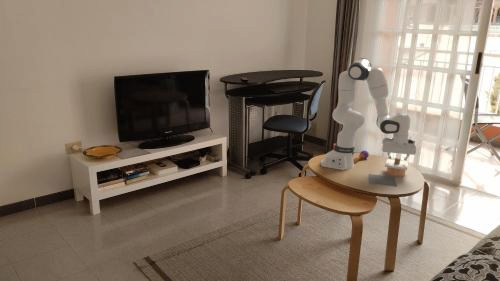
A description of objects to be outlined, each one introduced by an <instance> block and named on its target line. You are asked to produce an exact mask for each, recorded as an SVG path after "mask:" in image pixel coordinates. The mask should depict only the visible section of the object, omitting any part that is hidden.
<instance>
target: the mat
mask: <svg viewBox="0 0 500 281" xmlns="http://www.w3.org/2000/svg"><path fill="white" fill-rule="evenodd" d="M368 184H372V185H379V186H388V187H389V186H390V187H398V185H397V180H396V176H392V175H381V174H374V173H373V174H372V173H368Z"/></svg>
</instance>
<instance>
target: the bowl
mask: <svg viewBox="0 0 500 281" xmlns="http://www.w3.org/2000/svg"><path fill="white" fill-rule="evenodd" d="M406 172H407V170H403V169H396V168H390V167H386V174H387V175H388V176H392V177H404V176H405V175H406Z"/></svg>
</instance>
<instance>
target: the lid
mask: <svg viewBox="0 0 500 281" xmlns="http://www.w3.org/2000/svg"><path fill="white" fill-rule="evenodd" d="M384 167H385V168H387V167H390V168H396V169H403V170H406V171H408V167H409V161H404V160H401V158H400V157H395V158H394V159H392V158H391V159H388V158H387V160H386V162H385V165H384Z"/></svg>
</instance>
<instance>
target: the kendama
mask: <svg viewBox="0 0 500 281" xmlns="http://www.w3.org/2000/svg"><path fill="white" fill-rule="evenodd" d="M368 158H369V152H368V151H367V150H362V151H360V153H359V155H358V157H355V158H353V161H354V164H356V163H357V161H359V160H360V159H363V160H366V159H368Z"/></svg>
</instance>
